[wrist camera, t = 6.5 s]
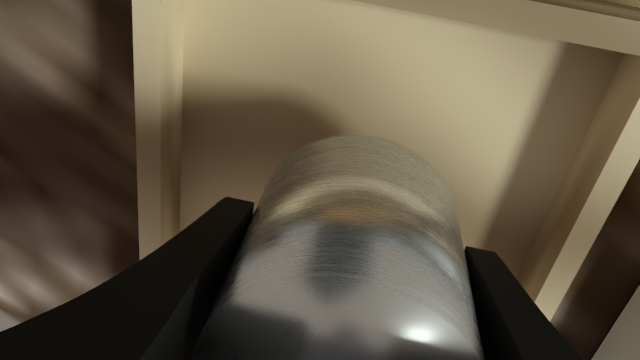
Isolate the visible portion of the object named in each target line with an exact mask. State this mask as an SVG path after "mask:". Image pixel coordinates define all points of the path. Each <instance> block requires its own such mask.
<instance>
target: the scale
mask: <svg viewBox="0 0 640 360" xmlns="http://www.w3.org/2000/svg"><path fill="white" fill-rule="evenodd" d="M591 360H640V285H639V286H638V288H637V289H636V291H635V293H634V294H633V296H632V297H631V299H630V300H629V302H628V303H627V305H626V307H625V308H624V310H623V311H622V313H621V314H620V316H619V317H618V319H617V321H616V322H615V324H614V325H613V327H612V328H611V330H610V331H609V333H608V334H607V336H606V338H605V339H604V341H603V342H602V344H601V345H600V347H599V348H598V350H597V352H596V353H595V355H594V356H593V358H592V359H591Z"/></svg>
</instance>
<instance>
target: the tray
mask: <svg viewBox="0 0 640 360" xmlns="http://www.w3.org/2000/svg"><path fill="white" fill-rule="evenodd" d="M132 24H133V57H134V91H135V125H136V158H137V192H138V225H139V259H140V260H141V259H143V258H144V257H146V256H147V255H149V254H150V253H152V252H153V251H155V250H156V249H158V248H159V247H160V246H162V245H163V244H165V243H166V242H167V241H169V240H170V239H171V238H173V237H174V236H175V235H177V234H178V233H179V232H181V231H182V230H184V229H185V228H186V227H187V226H189V225H190V224H191V223H193V222H194V221H195V220H196V219H198V218H199V217H200V216H201V215H203V214H204V213H205V212H206V211H208V210H209V209H210V208H211V207H213V206H214V205H215V204H216V203H217V202H219V201H220V200H221V199H223V198H225V197H231V198H236V199H241V200H246V201H250V202H254V211H255V209H256V206H257V204H258V202H259V200H260V197H261V195H262V193H263V190H264V188H265V186H266V184H267V182H268V180H269V178H270V176H271V175H272V173H273V172H274V171H275V169H276V168H277V167H278V166H279V165H280V164H281V163H282V162H283V161H284V160H285V159H286V158H287V157H288V156H290V155H291V154H292V153H293V152H295V151H296V150H298V149H300V148H302V147H304V146H305V145H307V144H310V143H312V142H315V141H317V140H321V139H325V138H328V137H333V136H340V135H367V136H375V137H379V138H383V139H388V140H390V141H393V142H396V143H399V144H401V145H403V146H405V147H407V148H409V149H411V150H413V151H415V152H416V153H417V154H419V155H420V156H422V157H423V158H425V159H426V160H427V161H428V162H429V163H430V164H431V165H433V166H434V167H435V169H436V170H437V171H438V172H439V173H440V174H441V176H442V177H443V179H444V180H445V182H446V183H447V185H448V187H449V189H450V191H451V193H452V196H453V198H454V202H455V206H456V210H457V215H458V221H459V226H460V231H461V237H462V242H463V247H464V250H465V247H466V246H469V247H473V248H478V249H483V250H488V251H493V252H496V254H497V255H498V256H499V257H500V258H501V260H502V261H503V262H504V263H505V265H506V266H507V267H508V269H509V270H510V271H511V272H512V274H513V275H514V276H515V278H516V279H517V280H518V282H519V283H520V284H521V286H522V287H523V288H524V290H525V291H526V292H527V293H528V295H529V296H530V297H531V299H532V300H533V301H534V302H535V304H536V305H537V306H538V308H539V309H540V310H541V311H542V313H543V314H544V315H545V316H546V318H547V319H548V320H549V321H551V319H552V317H553V315H554V313H555V312H556V310H557V308H558V306H559V304H560V303H561V301H562V299H563V297H564V295H565V293H566V292H567V290H568V288H569V286H570V284H571V283H572V281H573V279H574V277H575V275H576V274H577V272H578V270H579V268H580V266H581V264H582V263H583V261H584V259H585V257H586V255H587V254H588V252H589V250H590V248H591V246H592V244H593V243H594V241H595V239H596V237H597V235H598V234H599V232H600V230H601V228H602V226H603V224H604V223H605V221H606V219H607V217H608V215H609V214H610V212H611V210H612V208H613V206H614V205H615V203H616V201H617V199H618V197H619V195H620V194H621V192H622V190H623V188H624V186H625V185H626V183H627V181H628V179H629V177H630V175H631V174H632V172H633V170H634V168H635V166H636V165H637V163H638V161H639V159H640V8H637V7H632V6H626V5H621V4H616V3H611V2H605V1H600V0H132ZM254 211H253V213H254Z"/></svg>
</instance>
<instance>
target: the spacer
mask: <svg viewBox="0 0 640 360" xmlns="http://www.w3.org/2000/svg"><path fill="white" fill-rule="evenodd" d="M193 360H485V358H484V353H483V347H482V342H481V337H480V332H479V326H478V321H477V316H476V310H475V305H474V300H473V295H472V289H471V284H470V279H469V273H468V268H467V263H466V258H465V252H464V247H463V242H462V237H461V231H460V226H459V221H458V215H457V210H456V206H455V202H454V198H453V196H452V193H451V191H450V189H449V187H448V185H447V183H446V182H445V180H444V179H443V177H442V176H441V174H440V173H439V172H438V171H437V170H436V169H435V167H434V166H433V165H431V164H430V163H429V162H428V161H427V160H426V159H425V158H423V157H422V156H420V155H419V154H417V153H416V152H415V151H413V150H411V149H409V148H407V147H405V146H403V145H401V144H399V143H396V142H393V141H390V140H388V139H383V138H379V137H375V136H367V135H340V136H333V137H328V138H325V139H321V140H317V141H315V142H312V143H310V144H307V145H305V146H304V147H302V148H300V149H298V150H296V151H295V152H293V153H292V154H291V155H290V156H288V157H287V158H286V159H285V160H284V161H283V162H282V163H281V164H280V165H279V166H278V167H277V168H276V169H275V171H274V172H273V173H272V175H271V176H270V178H269V180H268V182H267V184H266V186H265V188H264V190H263V193H262V195H261V197H260V200H259V202H258V204H257V206H256V209H255V211H254V213H253V216H252V218H251V220H250V223H249V225H248V227H247V229H246V232H245V234H244V236H243V239H242V241H241V243H240V245H239V248H238V250H237V252H236V255H235V257H234V259H233V261H232V264H231V266H230V268H229V271H228V273H227V275H226V278H225V280H224V282H223V284H222V287H221V289H220V291H219V294H218V296H217V298H216V300H215V303H214V305H213V307H212V310H211V312H210V314H209V316H208V319H207V321H206V323H205V326H204V328H203V330H202V333H201V335H200V337H199V339H198V342H197V344H196V348H195V351H194V354H193Z"/></svg>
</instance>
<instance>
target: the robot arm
mask: <svg viewBox="0 0 640 360" xmlns="http://www.w3.org/2000/svg"><path fill="white" fill-rule="evenodd" d="M253 211H254V202H250V201H246V200H241V199H236V198H231V197H225V198H223V199H221V200H220V201H219V202H217V203H216V204H215V205H214V206H213V207H211V208H210V209H209V210H208V211H206V212H205V213H204V214H203V215H201V216H200V217H199V218H198V219H196V220H195V221H194V222H193V223H191V224H190V225H189V226H187V227H186V228H185V229H184V230H182V231H181V232H179V233H178V234H177V235H175V236H174V237H173V238H171V239H170V240H169V241H167V242H166V243H165V244H163V245H162V246H160V247H159V248H158V249H156V250H155V251H153V252H152V253H150V254H149V255H147V256H146V257H144V258H143V259H141V260H139V261H138V262H136V263H135V264H133V265H132V266H130V267H129V268H127V269H126V270H124V271H123V272H121V273H119V274H118V275H116V276H114V277H113V278H111V279H109V280H108V281H106V282H104V283H102V284H101V285H99V286H97V287H95V288H93V289H92V290H90V291H88V292H86V293H84V294H82V295H80V296H79V297H77V298H75V299H73V300H71V301H69V302H67V303H65V304H62V305H60V306H58V307H56V308H54V309H51V310H49V311H47V312H45V313H42V314H40V315H38V316H36V317H34V318H31V319H29V320H27V321H25V322H23V323H20V324H18V325H16V326H14V327H11V328H9V329H7V330H4V331H1V332H0V360H193V354H194V351H195V348H196V344H197V342H198V339H199V337H200V335H201V333H202V330H203V328H204V326H205V323H206V321H207V319H208V316H209V314H210V312H211V310H212V307H213V305H214V303H215V300H216V298H217V296H218V294H219V291H220V289H221V287H222V284H223V282H224V280H225V278H226V275H227V273H228V271H229V268H230V266H231V264H232V261H233V259H234V257H235V255H236V252H237V250H238V248H239V245H240V243H241V241H242V239H243V236H244V234H245V232H246V229H247V227H248V225H249V223H250V220H251V218H252V216H253ZM464 252H465V258H466V263H467V268H468V273H469V279H470V284H471V289H472V295H473V300H474V305H475V310H476V316H477V321H478V326H479V332H480V337H481V342H482V347H483V353H484V358H485V360H582V359H581V358H580V357H579V356H578V354H577V353H576V352H575V351H574V350H573V349H572V348H571V347H570V345H569V344H568V343H567V342H566V341H565V340H564V338H563V337H562V336H561V335H560V334H559V332H558V331H557V330H556V329H555V328H554V326H553V325H552V324H551V323H550V321H549V320H548V319H547V318H546V316H545V315H544V314H543V313H542V311H541V310H540V309H539V308H538V306H537V305H536V304H535V302H534V301H533V300H532V299H531V297H530V296H529V295H528V293H527V292H526V291H525V290H524V288H523V287H522V286H521V284H520V283H519V282H518V280H517V279H516V278H515V276H514V275H513V274H512V272H511V271H510V270H509V269H508V267H507V266H506V265H505V263H504V262H503V261H502V260H501V258H500V257H499V256H498V255H497V254H496V252H493V251H488V250H483V249H478V248H473V247H469V246H466V247H465V250H464Z"/></svg>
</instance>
